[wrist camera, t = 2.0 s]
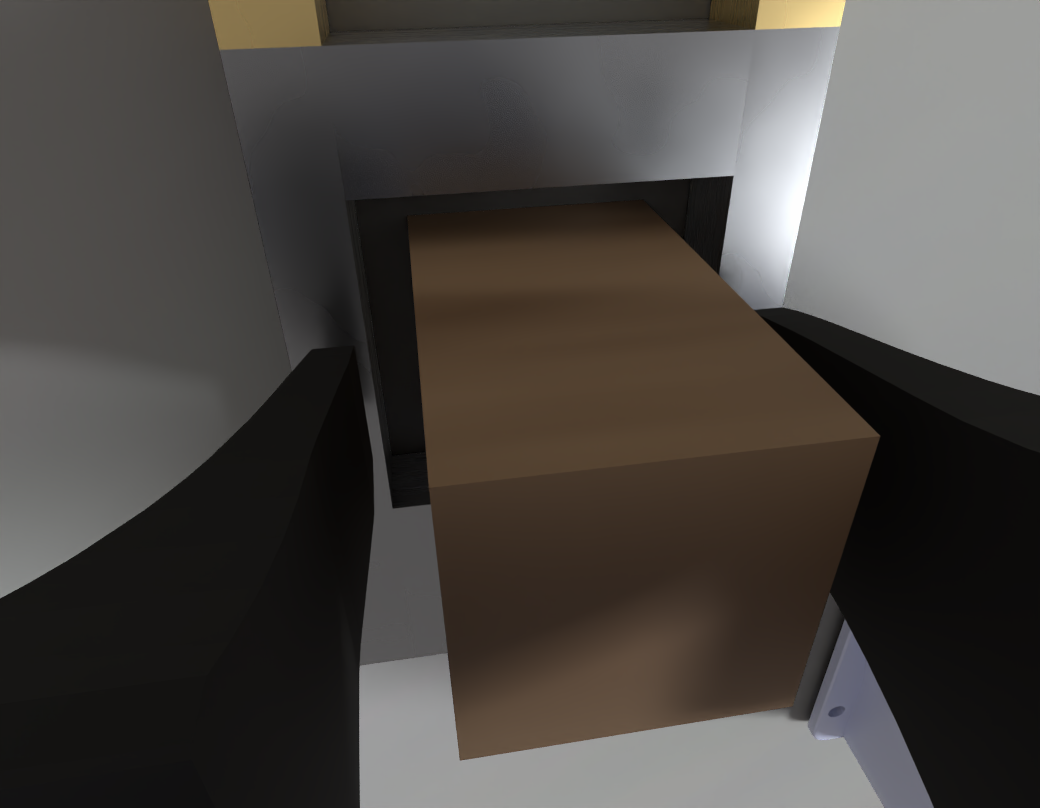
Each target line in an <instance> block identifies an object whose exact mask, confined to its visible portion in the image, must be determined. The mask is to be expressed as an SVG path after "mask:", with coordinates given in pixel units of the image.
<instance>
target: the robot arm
mask: <svg viewBox="0 0 1040 808" xmlns="http://www.w3.org/2000/svg"><path fill="white" fill-rule="evenodd" d="M754 311H755V312H756V313H757V314H758V315H759V316H760V317H761V318H762V319H763V320H764V321H765V322H766V323H767V324H768V325H769V326H770V327H771V328H772V329H773V330H774V331H775V332H776V333H777V334H778V335H779V336H780V337H781V338H782V339H783V340H784V341H785V342H786V343H787V344H788V345H789V346H790V347H791V348H792V349H793V350H794V351H795V352H796V353H797V354H798V355H799V356H800V357H801V358H802V359H803V360H804V361H805V362H806V363H808V364H809V365H810V366H811V367H812V368H813V369H814V370H815V371H816V372H817V373H818V374H819V375H820V376H821V377H822V378H823V379H824V380H825V381H826V382H827V383H828V384H829V385H830V386H831V387H832V388H833V389H834V390H835V391H836V392H837V393H838V394H839V395H840V396H841V397H842V398H843V399H844V400H845V401H846V402H847V403H848V404H849V405H850V406H851V407H852V408H853V409H854V410H855V411H856V412H857V413H858V414H859V415H860V416H861V417H862V418H863V419H864V420H865V421H866V422H867V423H868V424H869V425H870V426H871V427H872V428H873V429H874V430H875V431H876V432H877V433H878V434H879V435H880V439H879V442H878V445H877V448H876V451H875V454H874V457H873V460H872V463H871V466H870V469H869V473H868V476H867V479H866V482H865V485H864V488H863V491H862V494H861V497H860V500H859V503H858V506H857V510H856V513H855V516H854V519H853V522H852V525H851V528H850V531H849V534H848V537H847V540H846V543H845V546H844V550H843V553H842V556H841V559H840V562H839V565H838V568H837V571H836V574H835V577H834V580H833V583H832V586H831V590H830V593H831V595H832V596H833V598H834V600H835V601H836V603H837V605H838V607H839V609H840V611H841V612H842V614H843V616H844V618H845V620H844V623H843V626H842V629H841V632H840V634H839V637H838V640H837V643H836V646H835V649H834V651H833V654H832V657H831V660H830V663H829V666H828V668H827V671H826V674H825V677H824V680H823V683H822V685H821V688H820V691H819V694H818V697H817V700H816V702H815V705H814V708H813V711H812V714H811V717H810V719H809V722H808V728H809V730H810V732H811V733H812V735H813V737H814V738H816V739H819V740H828V739H834V738H840V737H844V738H845V740H846V742H847V744H848V745H849V747H850V749H851V751H852V752H853V754H854V756H855V757H856V759H857V761H858V763H859V764H860V766H861V768H862V770H863V771H864V773H865V775H866V777H867V778H868V780H869V782H870V783H871V785H872V787H873V789H874V790H875V792H876V794H877V796H878V797H879V799H880V801H881V803H882V804H883V806H884V808H1040V396H1039V395H1036V394H1032V393H1028V392H1025V391H1021V390H1017V389H1014V388H1011V387H1007V386H1004V385H1001V384H998V383H994V382H991V381H988V380H985V379H982V378H979V377H976V376H973V375H970V374H967V373H964V372H961V371H959V370H956V369H953V368H950V367H947V366H944V365H941V364H938V363H936V362H933V361H930V360H927V359H925V358H922V357H919V356H916V355H914V354H911V353H909V352H906V351H903V350H901V349H898V348H896V347H893V346H890V345H888V344H885V343H883V342H880V341H877V340H875V339H872V338H870V337H867V336H865V335H862V334H860V333H857V332H854V331H852V330H849V329H847V328H844V327H842V326H839V325H836V324H834V323H831V322H828V321H826V320H823V319H820V318H817V317H814V316H811V315H808V314H805V313H802V312H799V311H795V310H791V309H787V308H782V307H780V308H769V309H758V310H754ZM373 524H374V473H373V455H372V449H371V443H370V436H369V430H368V424H367V418H366V412H365V406H364V400H363V394H362V388H361V382H360V376H359V370H358V364H357V358H356V352H355V346H354V345H353V346H342V347H330V348H319V349H311V351H310V352H309V353H308V354H307V355H306V356H305V357H304V358H303V359H302V361H301V362H300V363H299V364H298V365H297V366H296V367H295V369H294V370H293V371H292V372H291V373H290V374H289V376H288V377H287V378H286V379H285V380H284V381H283V383H282V384H281V385H280V386H279V387H278V388H277V390H276V391H275V392H274V393H273V394H272V395H271V396H270V398H269V399H268V400H267V401H266V402H265V403H264V404H263V405H262V406H261V407H260V409H259V410H258V411H257V412H256V413H255V414H254V415H253V416H252V417H251V418H250V419H249V420H248V421H247V422H246V423H245V424H244V425H243V426H242V427H241V428H240V429H239V430H238V431H237V432H236V433H235V434H234V435H233V436H232V437H231V438H230V439H229V440H228V441H227V442H226V443H225V444H224V445H223V446H222V447H221V448H220V449H218V450H217V451H216V452H215V453H214V454H213V455H212V456H211V457H210V458H209V459H208V460H207V461H206V462H204V463H203V464H202V465H201V466H200V467H199V468H198V469H196V470H195V471H194V472H193V473H192V474H190V475H189V476H188V477H187V478H186V479H184V480H183V481H182V482H181V483H179V484H178V485H177V486H175V487H174V488H173V489H172V490H170V491H169V492H168V493H166V494H165V495H164V496H163V497H161V498H160V499H159V500H157V501H156V502H155V503H154V504H152V505H151V506H149V507H148V508H147V509H145V510H144V511H143V512H141V513H140V514H138V515H137V516H135V517H134V518H132V519H131V520H129V521H128V522H126V523H124V524H123V525H121V526H120V527H118V528H117V529H115V530H114V531H112V532H111V533H109V534H108V535H106V536H105V537H103V538H102V539H100V540H99V541H97V542H96V543H94V544H93V545H91V546H90V547H88V548H87V549H85V550H84V551H82V552H81V553H79V554H78V555H76V556H74V557H73V558H71V559H69V560H68V561H66V562H64V563H63V564H61V565H59V566H58V567H56V568H54V569H52V570H51V571H49V572H47V573H45V574H44V575H42V576H40V577H39V578H37V579H35V580H33V581H32V582H30V583H28V584H26V585H24V586H23V587H21V588H19V589H17V590H15V591H13V592H12V593H10V594H8V595H6V596H4V597H2V598H0V808H360V781H359V668H360V651H361V638H362V628H363V619H364V610H365V600H366V591H367V582H368V572H369V563H370V553H371V544H372V534H373Z"/></svg>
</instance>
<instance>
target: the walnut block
mask: <svg viewBox="0 0 1040 808" xmlns="http://www.w3.org/2000/svg"><path fill="white" fill-rule="evenodd" d="M407 221H408V233H409V246H410V258H411V271H412V283H413V296H414V308H415V321H416V333H417V346H418V358H419V371H420V383H421V396H422V408H423V421H424V433H425V445H426V458H427V470H428V483H429V493H430V502H431V511H432V520H433V528H434V537H435V546H436V555H437V563H438V572H439V581H440V590H441V599H442V607H443V616H444V625H445V634H446V642H447V651H448V660H449V669H450V678H451V686H452V695H453V704H454V713H455V722H456V730H457V739H458V748H459V757H460V760H466V759H473V758H479V757H485V756H491V755H497V754H503V753H509V752H515V751H522V750H528V749H534V748H540V747H546V746H552V745H558V744H565V743H571V742H577V741H583V740H589V739H595V738H601V737H608V736H614V735H620V734H626V733H632V732H638V731H644V730H650V729H657V728H663V727H669V726H675V725H681V724H687V723H693V722H700V721H706V720H712V719H718V718H724V717H730V716H736V715H743V714H749V713H755V712H761V711H767V710H773V709H779V708H785V707H792V706H793V703H794V700H795V697H796V694H797V691H798V688H799V685H800V682H801V679H802V676H803V673H804V670H805V667H806V663H807V660H808V657H809V654H810V651H811V648H812V645H813V642H814V639H815V636H816V633H817V630H818V627H819V623H820V620H821V617H822V614H823V611H824V608H825V605H826V602H827V599H828V596H829V593H830V590H831V586H832V583H833V580H834V577H835V574H836V571H837V568H838V565H839V562H840V559H841V556H842V553H843V550H844V546H845V543H846V540H847V537H848V534H849V531H850V528H851V525H852V522H853V519H854V516H855V513H856V510H857V506H858V503H859V500H860V497H861V494H862V491H863V488H864V485H865V482H866V479H867V476H868V473H869V469H870V466H871V463H872V460H873V457H874V454H875V451H876V448H877V445H878V442H879V439H880V435H879V434H878V433H877V432H876V431H875V430H874V429H873V428H872V427H871V426H870V425H869V424H868V423H867V422H866V421H865V420H864V419H863V418H862V417H861V416H860V415H859V414H858V413H857V412H856V411H855V410H854V409H853V408H852V407H851V406H850V405H849V404H848V403H847V402H846V401H845V400H844V399H843V398H842V397H841V396H840V395H839V394H838V393H837V392H836V391H835V390H834V389H833V388H832V387H831V386H830V385H829V384H828V383H827V382H826V381H825V380H824V379H823V378H822V377H821V376H820V375H819V374H818V373H817V372H816V371H815V370H814V369H813V368H812V367H811V366H810V365H809V364H808V363H806V362H805V361H804V360H803V359H802V358H801V357H800V356H799V355H798V354H797V353H796V352H795V351H794V350H793V349H792V348H791V347H790V346H789V345H788V344H787V343H786V342H785V341H784V340H783V339H782V338H781V337H780V336H779V335H778V334H777V333H776V332H775V331H774V330H773V329H772V328H771V327H770V326H769V325H768V324H767V323H766V322H765V321H764V320H763V319H762V318H761V317H760V316H759V315H758V314H757V313H756V312H755V311H754V310H753V309H752V308H751V307H750V306H749V305H748V304H747V303H746V302H745V301H744V300H743V299H742V298H741V297H740V296H739V295H738V294H737V293H736V292H735V291H734V290H733V289H732V288H731V287H730V286H729V285H728V284H727V283H726V282H725V281H724V280H723V279H722V278H721V277H720V276H719V275H718V274H717V273H716V272H715V271H714V270H713V269H712V268H711V267H710V266H709V265H708V264H707V263H706V262H705V261H704V260H703V259H702V258H701V257H700V256H699V255H698V254H697V253H696V252H695V251H694V250H693V249H692V248H691V247H690V246H689V245H688V244H687V243H686V242H685V241H684V240H683V239H682V238H681V237H680V236H679V235H678V234H677V233H676V232H675V231H674V230H673V229H672V228H671V227H670V226H669V225H668V224H667V223H666V222H665V221H664V220H663V219H662V218H661V217H660V216H659V215H658V214H657V213H656V212H655V211H654V210H653V209H652V208H651V207H650V206H649V205H648V204H647V203H646V202H645V201H644V200H630V201H615V202H600V203H585V204H570V205H555V206H540V207H525V208H511V209H496V210H481V211H466V212H451V213H436V214H421V215H407Z"/></svg>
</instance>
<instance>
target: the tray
mask: <svg viewBox="0 0 1040 808" xmlns="http://www.w3.org/2000/svg"><path fill="white" fill-rule="evenodd" d="M208 2H209V7H210V11H211V15H212V20H213V24H214V29H215V33H216V38H217V42H218V46H219V51H220V55H221V60H222V64H223V69H224V73H225V77H226V82H227V86H228V91H229V95H230V100H231V104H232V108H233V113H234V117H235V122H236V126H237V131H238V135H239V139H240V144H241V148H242V153H243V157H244V162H245V166H246V170H247V175H248V179H249V184H250V188H251V193H252V197H253V201H254V206H255V210H256V215H257V219H258V224H259V228H260V232H261V237H262V241H263V246H264V250H265V255H266V259H267V263H268V268H269V272H270V277H271V281H272V286H273V290H274V294H275V299H276V303H277V308H278V312H279V317H280V321H281V325H282V330H283V334H284V339H285V343H286V348H287V352H288V356H289V361H290V365H291V370H292V371H293V370H294V369H295V367H296V366H297V365H298V364H299V363H300V362H301V361H302V359H303V358H304V357H305V356H306V355H307V354H308V353H309V352H310V351H311V349H319V348H330V347H342V346H353V345H354V346H355V352H356V358H357V364H358V370H359V376H360V382H361V388H362V394H363V400H364V406H365V412H366V418H367V424H368V430H369V436H370V443H371V449H372V455H373V473H374V524H373V534H372V544H371V553H370V563H369V572H368V582H367V591H366V600H365V610H364V619H363V628H362V638H361V651H360V665H366V664H373V663H380V662H387V661H394V660H401V659H408V658H415V657H422V656H428V655H435V654H442V653H448V651H447V642H446V634H445V625H444V616H443V607H442V599H441V590H440V581H439V572H438V563H437V555H436V546H435V537H434V528H433V520H432V511H431V502H430V493H429V483H428V470H427V458H426V452H421V453H411V454H402V455H393V456H392V453H391V446H390V439H389V432H388V425H387V418H386V412H385V405H384V398H383V391H382V384H381V377H380V371H379V364H378V357H377V350H376V343H375V337H374V330H373V323H372V316H371V309H370V302H369V296H368V289H367V282H366V275H365V268H364V261H363V255H362V248H361V241H360V234H359V227H358V221H357V214H356V207H355V200H361V199H377V198H392V197H408V196H424V195H439V194H455V193H471V192H486V191H502V190H517V189H533V188H549V187H564V186H580V185H595V184H611V183H627V182H642V181H658V180H673V179H689V178H691V182H690V191H689V200H688V209H687V217H686V226H685V235H684V241H685V242H686V243H687V244H688V245H689V246H690V247H691V248H692V249H693V250H694V251H695V252H696V253H697V254H698V255H699V256H700V257H701V258H702V259H703V260H704V261H705V262H706V263H707V264H708V265H709V266H710V267H711V268H712V269H713V270H714V271H715V272H716V273H717V274H718V275H719V276H720V277H721V278H722V279H723V280H724V281H725V282H726V283H727V284H728V285H729V286H730V287H731V288H732V289H733V290H734V291H735V292H736V293H737V294H738V295H739V296H740V297H741V298H742V299H743V300H744V301H745V302H746V303H747V304H748V305H749V306H750V307H751V308H752V309H753V310H758V309H769V308H780V307H783V302H784V297H785V292H786V287H787V282H788V277H789V273H790V268H791V263H792V258H793V253H794V248H795V243H796V239H797V234H798V229H799V224H800V219H801V214H802V209H803V204H804V200H805V195H806V190H807V185H808V180H809V175H810V170H811V166H812V161H813V156H814V151H815V146H816V141H817V136H818V131H819V127H820V122H821V117H822V112H823V107H824V102H825V97H826V93H827V88H828V83H829V78H830V73H831V68H832V63H833V59H834V54H835V49H836V44H837V39H838V34H839V29H840V24H841V20H842V15H843V10H844V5H845V0H711V8H710V17H709V19H691V20H663V21H634V22H606V23H577V24H549V25H521V26H492V27H464V28H436V29H407V30H379V31H351V32H330V29H329V23H328V16H327V9H326V2H325V0H208Z"/></svg>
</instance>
